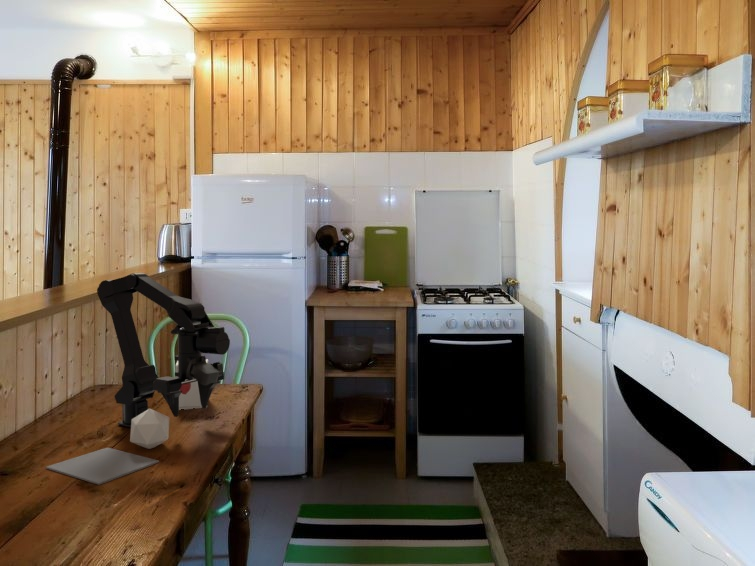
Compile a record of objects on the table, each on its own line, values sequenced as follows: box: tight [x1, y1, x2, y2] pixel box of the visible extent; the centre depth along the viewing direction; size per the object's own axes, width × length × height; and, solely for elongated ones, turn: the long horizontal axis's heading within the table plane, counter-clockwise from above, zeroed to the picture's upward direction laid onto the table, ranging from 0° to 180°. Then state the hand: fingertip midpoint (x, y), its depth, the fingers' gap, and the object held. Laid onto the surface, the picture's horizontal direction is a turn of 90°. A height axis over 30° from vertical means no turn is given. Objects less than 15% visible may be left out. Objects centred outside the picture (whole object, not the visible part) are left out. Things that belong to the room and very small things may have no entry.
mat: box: [45, 447, 160, 486], centre depth 131 cm, size 18×15×1 cm
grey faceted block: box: [129, 408, 170, 450], centre depth 142 cm, size 8×9×10 cm
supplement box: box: [174, 358, 209, 411], centre depth 175 cm, size 9×9×15 cm
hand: (190, 412), depth 153 cm, fingers open, 9 cm apart
